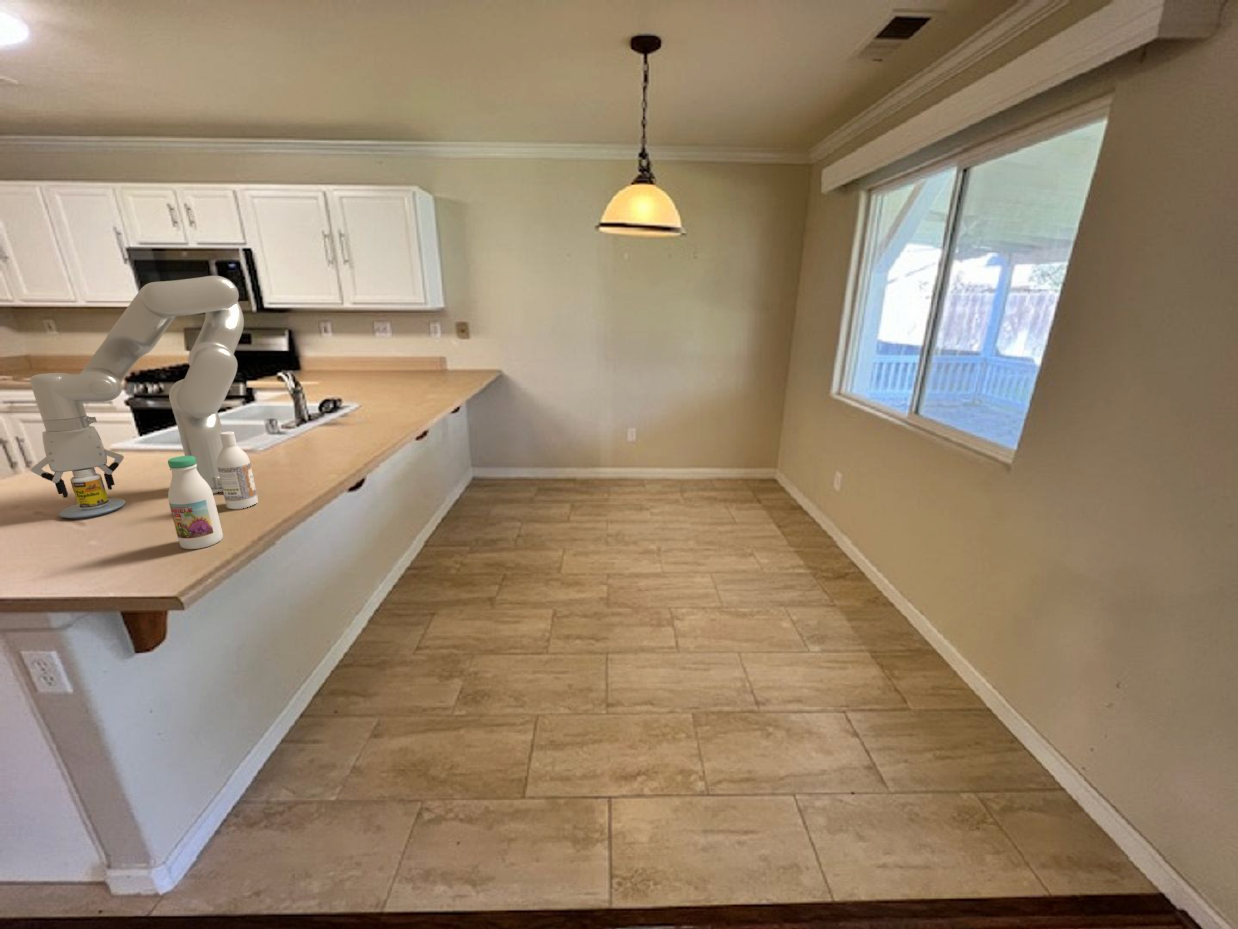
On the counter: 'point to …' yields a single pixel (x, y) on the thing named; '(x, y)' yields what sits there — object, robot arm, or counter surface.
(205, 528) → the milk bottle
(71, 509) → the dish
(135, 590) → the counter surface
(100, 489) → the supplement bottle
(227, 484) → the bath foam
